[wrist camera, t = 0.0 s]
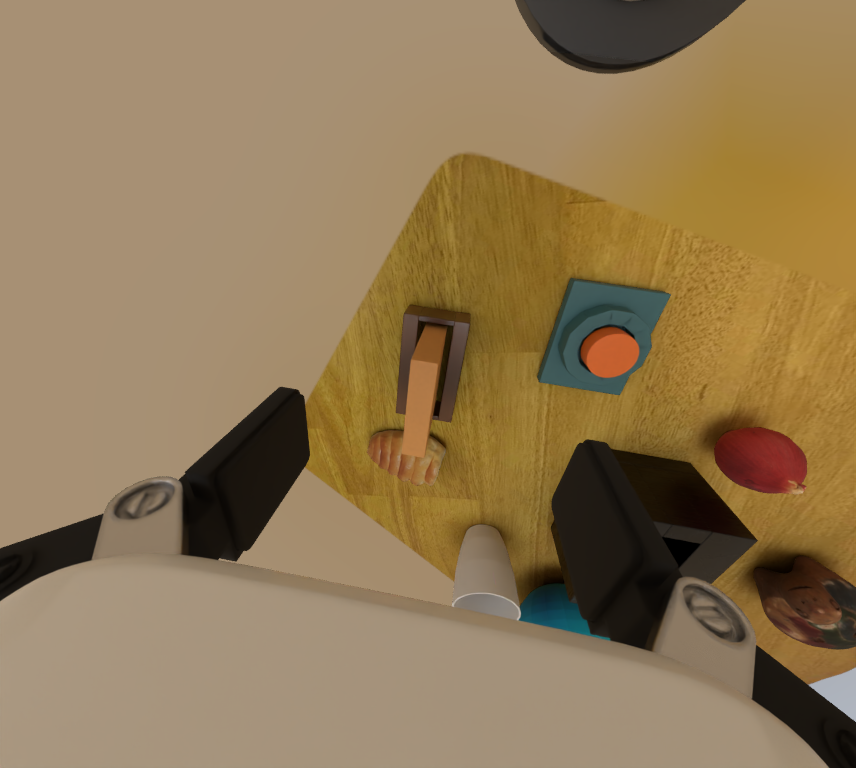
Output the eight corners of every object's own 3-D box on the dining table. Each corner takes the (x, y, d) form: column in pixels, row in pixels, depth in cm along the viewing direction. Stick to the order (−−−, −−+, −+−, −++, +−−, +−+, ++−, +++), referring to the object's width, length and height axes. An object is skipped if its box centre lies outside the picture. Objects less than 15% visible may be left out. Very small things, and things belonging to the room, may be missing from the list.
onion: (749, 455, 33) (823, 518, 26) (689, 455, 34) (745, 517, 27) (771, 410, 30) (860, 468, 23) (705, 412, 31) (771, 468, 24)
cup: (445, 528, 46) (438, 602, 37) (491, 510, 42) (496, 586, 34) (475, 557, 48) (476, 633, 39) (522, 542, 45) (533, 621, 36)
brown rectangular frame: (409, 304, 30) (403, 313, 27) (470, 313, 30) (470, 323, 27) (401, 398, 35) (395, 413, 33) (452, 407, 35) (451, 422, 32)
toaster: (591, 445, 35) (628, 516, 27) (690, 462, 35) (758, 540, 26) (550, 527, 43) (569, 602, 34) (631, 542, 42) (669, 622, 34)
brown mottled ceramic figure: (797, 530, 37) (879, 603, 30) (842, 579, 42) (922, 653, 35) (716, 563, 41) (771, 635, 34) (765, 605, 46) (823, 676, 39)
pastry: (368, 457, 41) (359, 478, 37) (375, 417, 37) (365, 437, 34) (436, 475, 41) (433, 498, 37) (449, 436, 37) (447, 458, 34)
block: (570, 277, 27) (580, 284, 24) (663, 291, 26) (684, 299, 24) (536, 376, 32) (542, 391, 29) (614, 389, 31) (627, 405, 29)
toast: (428, 317, 30) (410, 359, 22) (448, 320, 30) (438, 363, 21) (419, 394, 35) (401, 454, 26) (436, 396, 35) (424, 458, 26)
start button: (590, 323, 26) (597, 330, 24) (638, 330, 26) (648, 337, 24) (573, 365, 28) (579, 373, 26) (618, 372, 28) (626, 381, 26)
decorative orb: (587, 553, 44) (635, 694, 31) (619, 606, 49) (672, 746, 37) (492, 573, 50) (499, 701, 37) (531, 619, 55) (549, 745, 42)
